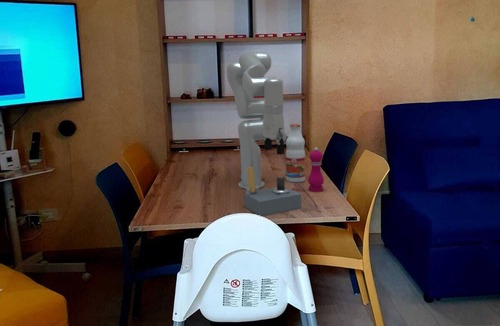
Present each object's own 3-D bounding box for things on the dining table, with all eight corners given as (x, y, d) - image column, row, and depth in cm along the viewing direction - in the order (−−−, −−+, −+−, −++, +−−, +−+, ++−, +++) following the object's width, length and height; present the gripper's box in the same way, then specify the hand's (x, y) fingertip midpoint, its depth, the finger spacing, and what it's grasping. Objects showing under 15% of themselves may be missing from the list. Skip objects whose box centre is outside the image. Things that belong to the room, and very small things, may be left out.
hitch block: (244, 206, 202) (243, 187, 200) (283, 199, 210) (283, 181, 208) (260, 216, 190) (259, 196, 188) (301, 208, 198) (301, 188, 196)
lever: (251, 193, 198) (249, 193, 199) (255, 192, 198) (254, 192, 200) (248, 167, 197) (246, 167, 198) (253, 167, 198) (251, 166, 199)
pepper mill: (322, 187, 226) (322, 145, 222) (325, 191, 219) (325, 148, 215) (306, 187, 226) (306, 146, 222) (309, 192, 219) (309, 149, 215)
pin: (270, 204, 203) (270, 177, 200) (283, 202, 206) (283, 175, 203) (278, 209, 198) (277, 180, 195) (291, 206, 200) (291, 178, 198)
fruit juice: (307, 178, 242) (307, 123, 236) (302, 183, 234) (302, 126, 227) (288, 177, 246) (288, 122, 239) (283, 182, 237) (283, 125, 231)
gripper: (255, 108, 199) (256, 149, 203) (276, 113, 184) (277, 157, 188) (270, 107, 202) (271, 147, 206) (293, 111, 188) (293, 154, 192)
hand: (274, 152), depth 197 cm, fingers open, 9 cm apart
